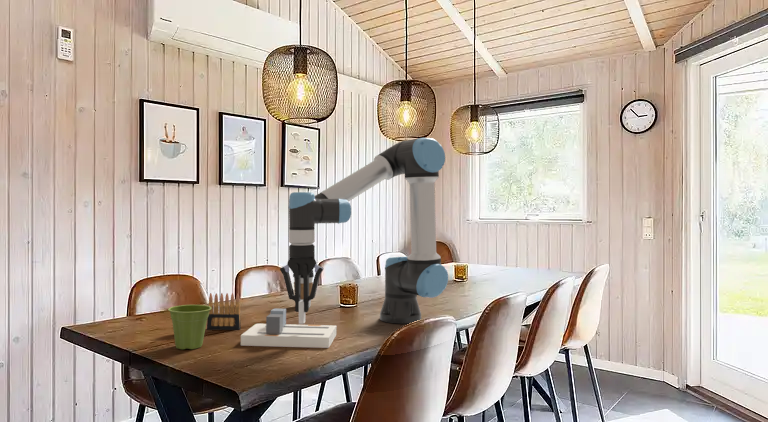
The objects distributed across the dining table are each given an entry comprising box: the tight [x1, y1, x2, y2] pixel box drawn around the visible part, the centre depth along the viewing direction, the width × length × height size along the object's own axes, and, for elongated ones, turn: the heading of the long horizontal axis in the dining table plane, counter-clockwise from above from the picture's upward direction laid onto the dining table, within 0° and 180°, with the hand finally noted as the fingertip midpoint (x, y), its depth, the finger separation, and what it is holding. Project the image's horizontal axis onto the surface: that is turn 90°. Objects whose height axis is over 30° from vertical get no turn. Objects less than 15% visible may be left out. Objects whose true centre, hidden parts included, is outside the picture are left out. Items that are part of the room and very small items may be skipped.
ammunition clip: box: [206, 292, 242, 331], centre depth 180 cm, size 11×2×12 cm, turn 93°
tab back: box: [269, 308, 287, 327], centre depth 172 cm, size 4×4×5 cm
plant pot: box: [168, 304, 212, 350], centre depth 157 cm, size 12×12×11 cm
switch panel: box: [240, 323, 337, 349], centre depth 167 cm, size 26×16×3 cm, turn 87°
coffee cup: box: [292, 269, 315, 308], centre depth 221 cm, size 8×8×15 cm
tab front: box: [265, 313, 283, 334], centre depth 163 cm, size 4×4×5 cm
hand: (302, 322), depth 163 cm, fingers closed
